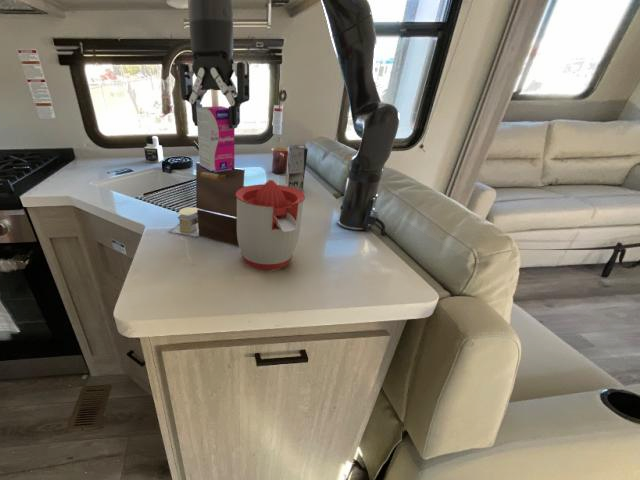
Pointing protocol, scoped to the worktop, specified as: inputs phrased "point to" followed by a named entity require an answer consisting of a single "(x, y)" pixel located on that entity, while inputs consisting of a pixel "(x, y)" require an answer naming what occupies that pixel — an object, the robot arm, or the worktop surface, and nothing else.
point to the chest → (217, 226)
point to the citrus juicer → (268, 224)
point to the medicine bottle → (153, 150)
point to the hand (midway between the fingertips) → (215, 126)
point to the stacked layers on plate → (187, 222)
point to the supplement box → (215, 139)
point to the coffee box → (296, 166)
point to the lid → (218, 190)
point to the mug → (279, 159)
